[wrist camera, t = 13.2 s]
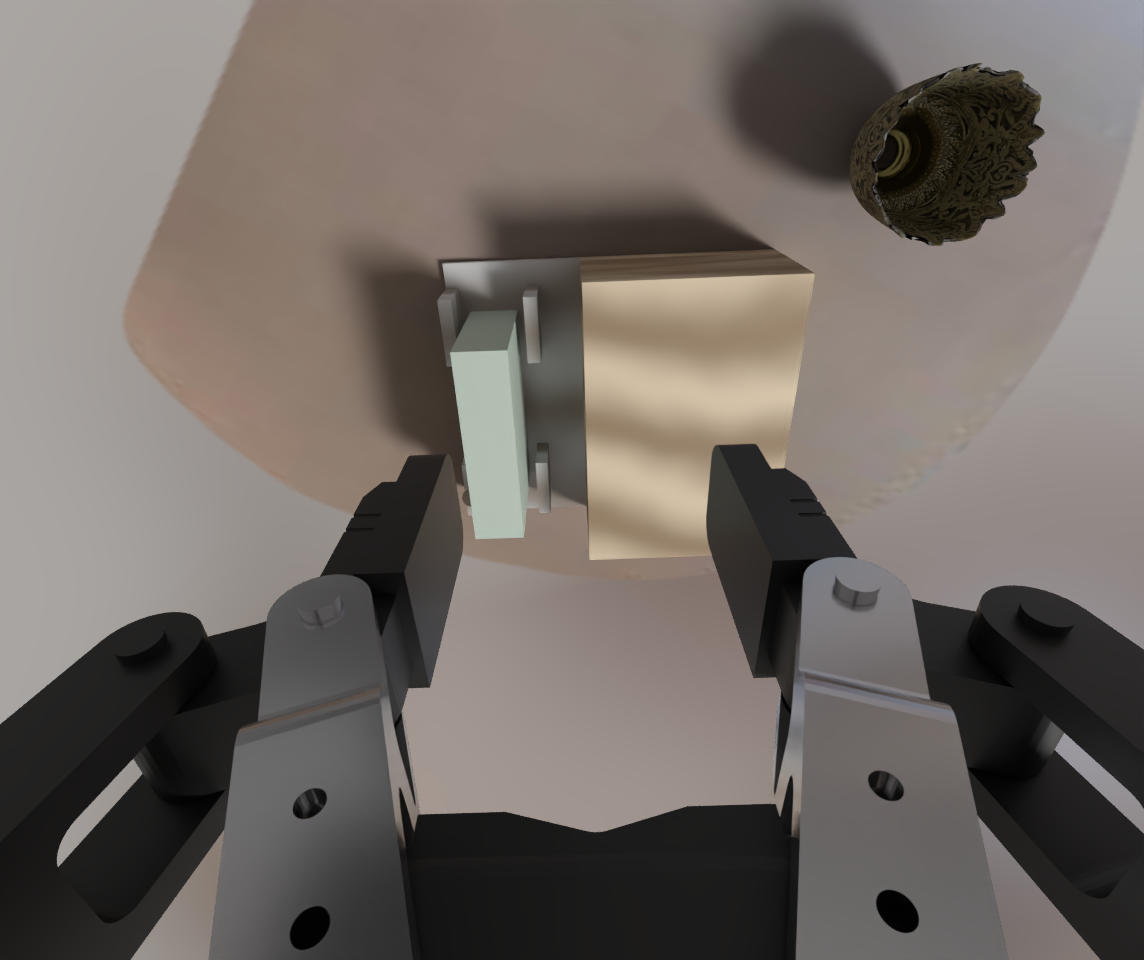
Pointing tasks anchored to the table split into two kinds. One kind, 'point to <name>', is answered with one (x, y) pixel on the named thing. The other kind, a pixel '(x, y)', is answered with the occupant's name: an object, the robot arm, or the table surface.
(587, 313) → the cabinet
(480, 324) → the door
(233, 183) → the table surface
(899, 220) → the cup
